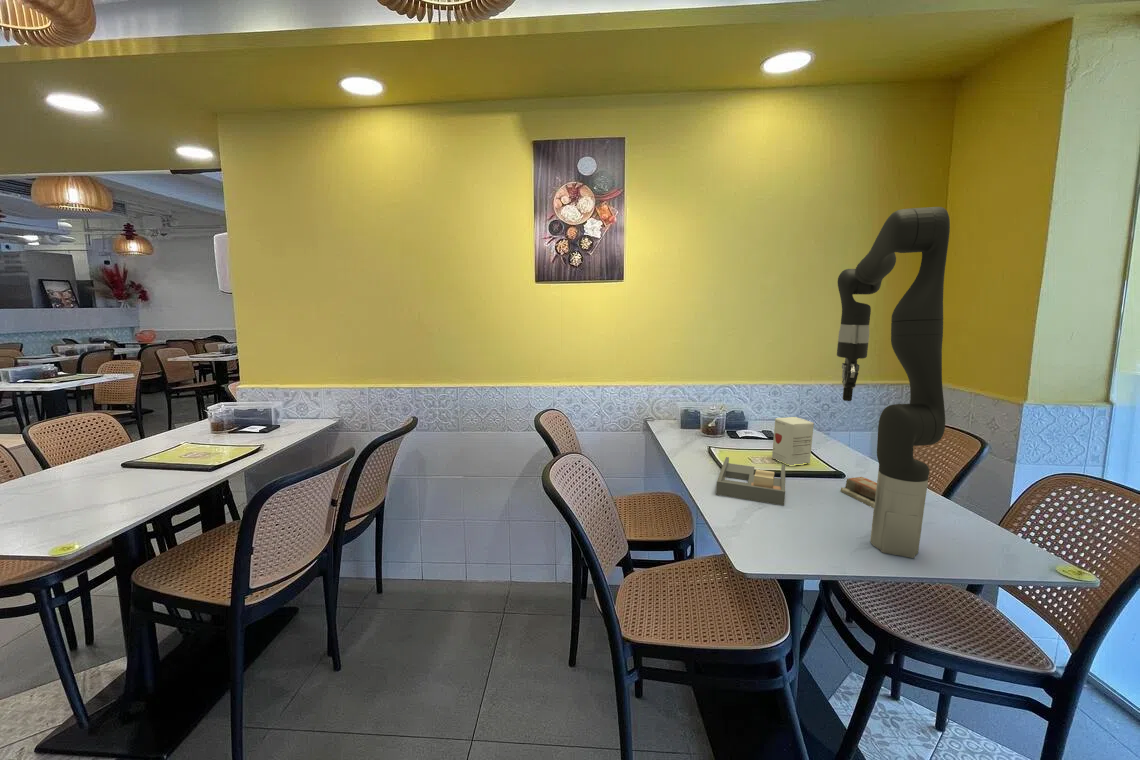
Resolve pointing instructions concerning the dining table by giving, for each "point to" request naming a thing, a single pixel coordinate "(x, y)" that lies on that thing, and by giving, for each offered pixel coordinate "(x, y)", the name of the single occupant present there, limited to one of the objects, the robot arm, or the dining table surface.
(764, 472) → the block
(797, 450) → the supplement box
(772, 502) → the box
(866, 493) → the packaged product
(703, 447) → the dining table surface
